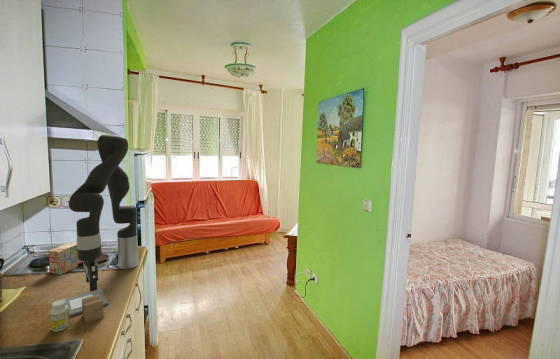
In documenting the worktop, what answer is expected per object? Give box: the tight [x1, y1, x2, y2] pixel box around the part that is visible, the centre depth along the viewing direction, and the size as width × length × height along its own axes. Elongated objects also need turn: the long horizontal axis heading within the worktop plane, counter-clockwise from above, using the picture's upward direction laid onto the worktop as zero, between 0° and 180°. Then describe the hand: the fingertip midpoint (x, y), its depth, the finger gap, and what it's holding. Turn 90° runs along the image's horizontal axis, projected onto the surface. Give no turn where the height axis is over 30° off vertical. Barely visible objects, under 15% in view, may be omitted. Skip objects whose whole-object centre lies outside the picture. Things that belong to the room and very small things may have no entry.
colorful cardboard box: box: [48, 241, 82, 275], centre depth 150 cm, size 21×6×12 cm, turn 168°
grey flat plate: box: [62, 288, 109, 318], centre depth 116 cm, size 14×16×1 cm
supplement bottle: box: [49, 299, 71, 332], centre depth 101 cm, size 5×5×10 cm
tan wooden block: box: [82, 294, 105, 324], centre depth 108 cm, size 6×6×7 cm
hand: (91, 286), depth 107 cm, fingers open, 8 cm apart
